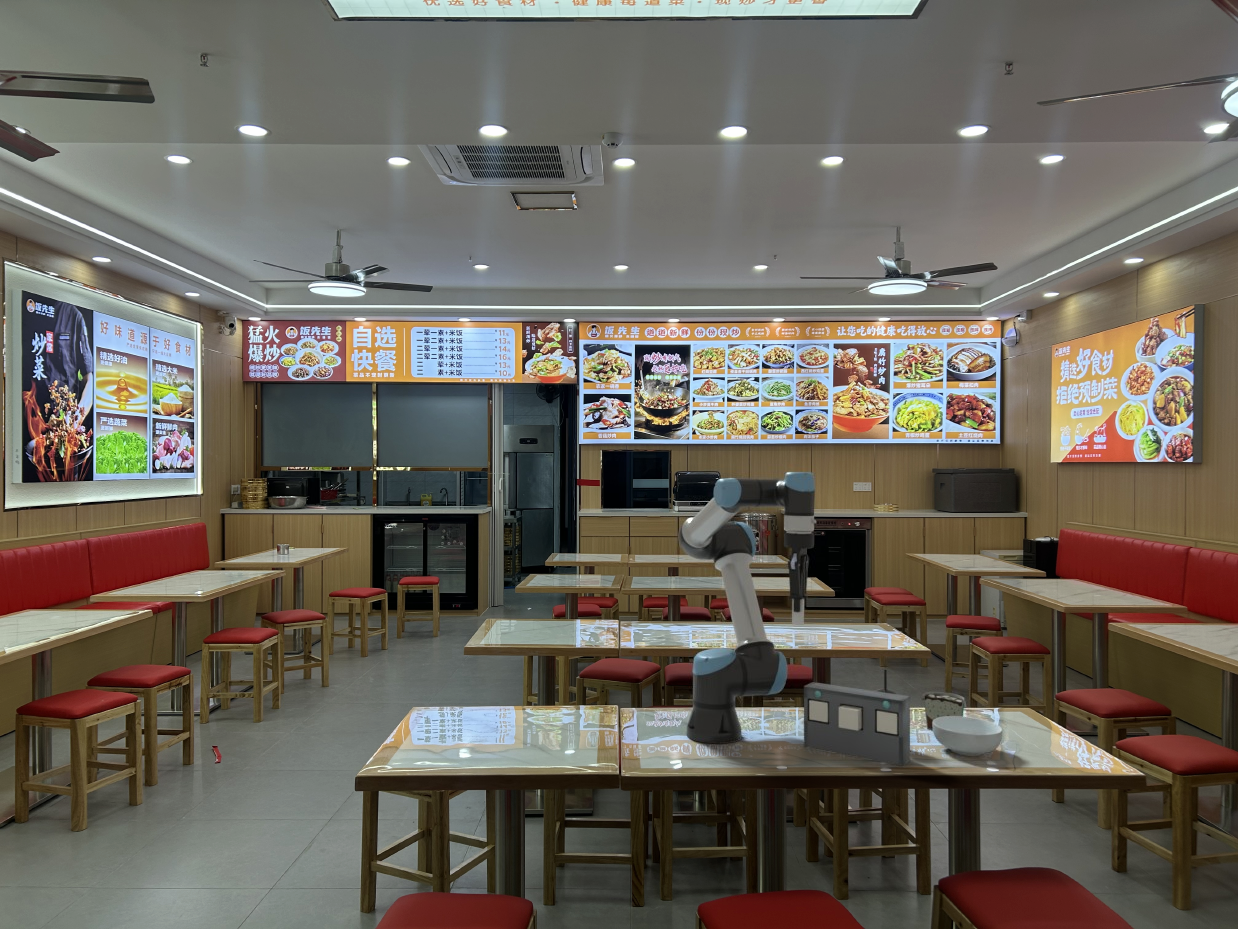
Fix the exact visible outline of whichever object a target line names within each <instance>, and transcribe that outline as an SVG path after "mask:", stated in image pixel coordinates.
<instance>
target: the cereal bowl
mask: <svg viewBox="0 0 1238 929" xmlns="http://www.w3.org/2000/svg"><path fill="white" fill-rule="evenodd" d="M932 727H933V730H932V733H933V735H934V737H935V739H936V740H937V741H938V743H939V744H941V746H943V747H946V748H947V749H950V751H951V752H953V753H955V754H958V755H961V756H969V757H978V756H982V755H983V754H987V753H990V752H993V751H995V750H996V749H998V748H999V746H1000V745H1001V743H1002V739H1003V729H1002V726H1000V725H998V724H997V723H995V722H992V721H989V720H985V719H981V718H976V717H971V716H964V715H963V716H945V717H939V718H936V719H934V720H933V723H932Z"/></svg>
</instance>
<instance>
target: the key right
mask: <svg viewBox="0 0 1238 929" xmlns="http://www.w3.org/2000/svg"><path fill="white" fill-rule="evenodd" d="M877 731H880V732H886V733H892V734H898V733H899V713H898V712H892V711H886V710H878V711H877Z"/></svg>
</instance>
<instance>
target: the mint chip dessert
mask: <svg viewBox="0 0 1238 929" xmlns="http://www.w3.org/2000/svg"><path fill="white" fill-rule="evenodd" d="M921 701H923V704H924V713H925V724H926V730H931V731H933V727H932V723H933V720H934V719H936V718H939V717H945V716H963V717H964V711H965V709H966V708H967V707H968V706H967V704H966V702H967V701H966V699H965V697H963V696H961V695H959V694H957V693H952V692H942V691H941V692H940V691H928V692H924V693H923V695H922V697H921Z"/></svg>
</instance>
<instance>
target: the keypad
mask: <svg viewBox="0 0 1238 929" xmlns="http://www.w3.org/2000/svg"><path fill="white" fill-rule="evenodd" d="M811 699H816V700H822V701H829V722H822V721H816V720H811V719H809V700H811ZM844 704H845V705H851V706H857V707H863V728H861V729H860V730H858V731H857V730H852V729H846V728H840V727H839V707H841V706H842V705H844ZM878 710H886V711H892V712H898V713H899V733H898V734H892V733H886V732H880V731H877V711H878ZM803 748H806V749H807V748H808V749H813V750H818V751H824V752H829V753H833V754H839V755H843V756H849V757H855V758H858V759H863V760H864V759H865V760H869V761H874V762H879V763H884V764H890V765H895V766H901V767H904V766H905V765H906V764H908V763H909V762H910V760H911V696H910V695H905V694H904V695H903V694H900V695H897V694H891V693H884V692H877V691H875V690H869V689H863V688H856V687H855V688H854V687H850V686H849V687H848V686H843V685H835V684H828V683H822V682H821V683H820V682H814V681H812V682H810V683H808V684H806V685H804V686H803Z"/></svg>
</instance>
